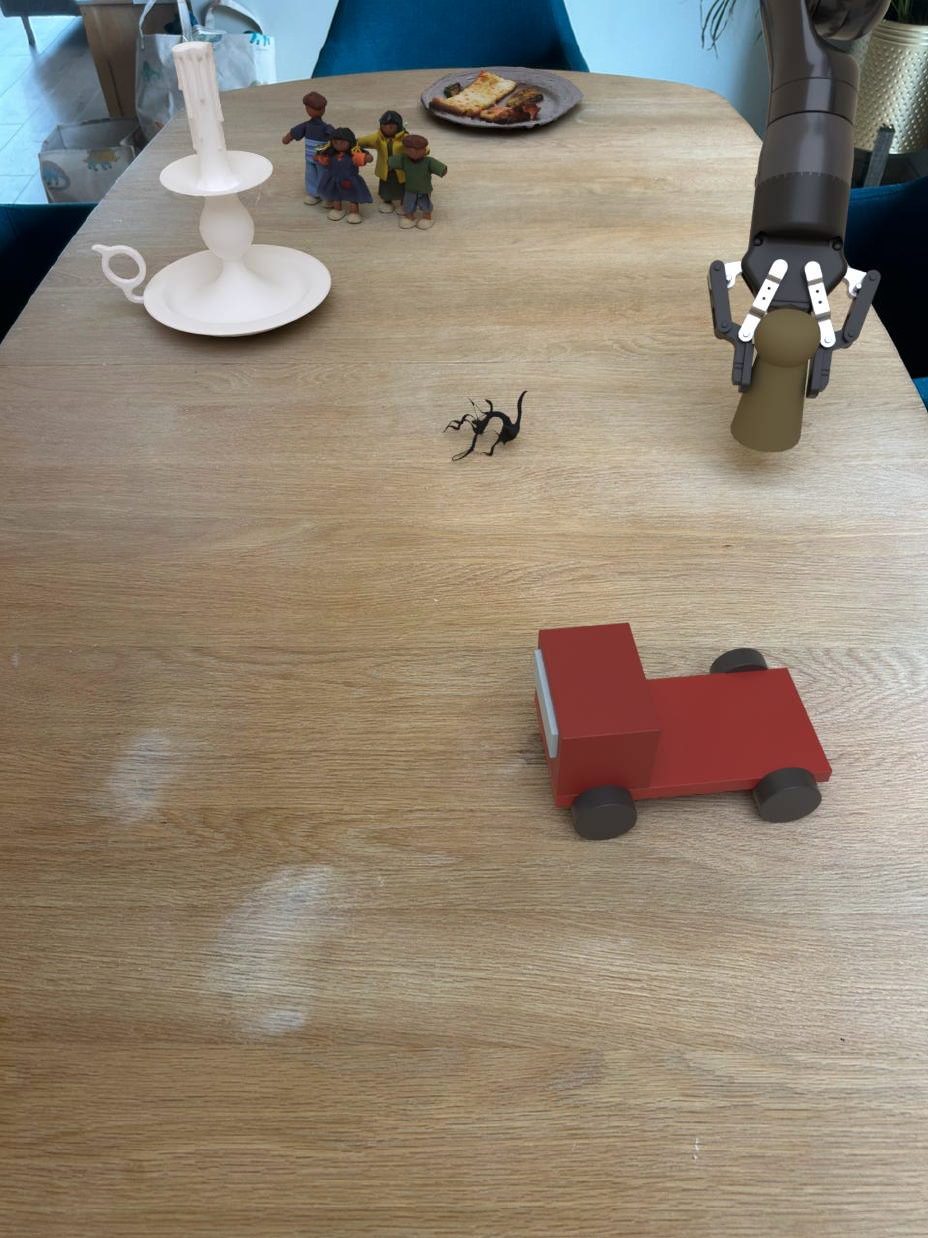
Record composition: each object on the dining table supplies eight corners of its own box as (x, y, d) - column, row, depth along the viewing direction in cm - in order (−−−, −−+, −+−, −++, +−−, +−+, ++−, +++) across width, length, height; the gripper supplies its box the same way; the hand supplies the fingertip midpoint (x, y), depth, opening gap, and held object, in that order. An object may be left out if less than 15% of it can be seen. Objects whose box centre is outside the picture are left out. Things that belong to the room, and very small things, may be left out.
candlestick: (126, 276, 119) (54, 10, 99) (333, 264, 121) (304, 0, 101) (98, 369, 105) (7, 80, 85) (334, 354, 106) (299, 67, 86)
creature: (433, 469, 94) (512, 470, 91) (419, 419, 91) (500, 419, 87) (462, 423, 99) (538, 423, 96) (450, 375, 96) (528, 373, 93)
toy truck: (771, 680, 74) (799, 591, 67) (828, 818, 66) (867, 732, 59) (524, 702, 73) (529, 613, 66) (551, 845, 64) (559, 760, 58)
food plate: (523, 151, 145) (524, 125, 142) (393, 120, 154) (391, 96, 151) (603, 99, 159) (605, 75, 157) (480, 74, 168) (480, 50, 166)
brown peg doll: (796, 457, 85) (827, 341, 77) (725, 445, 86) (748, 330, 78) (804, 418, 89) (833, 304, 81) (735, 407, 90) (758, 294, 82)
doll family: (272, 219, 130) (255, 110, 120) (292, 190, 136) (278, 84, 126) (446, 231, 127) (444, 120, 117) (459, 201, 133) (458, 93, 123)
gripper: (718, 163, 80) (693, 376, 80) (906, 172, 78) (880, 391, 78) (709, 201, 87) (686, 396, 87) (880, 210, 85) (856, 410, 85)
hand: (778, 392), depth 83 cm, fingers closed on brown peg doll, 5 cm apart
